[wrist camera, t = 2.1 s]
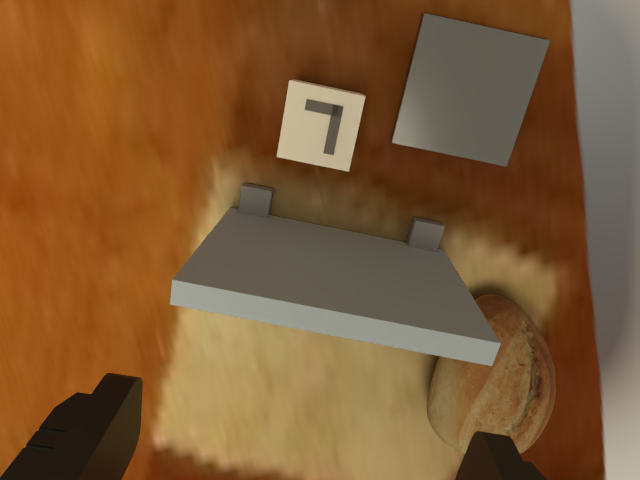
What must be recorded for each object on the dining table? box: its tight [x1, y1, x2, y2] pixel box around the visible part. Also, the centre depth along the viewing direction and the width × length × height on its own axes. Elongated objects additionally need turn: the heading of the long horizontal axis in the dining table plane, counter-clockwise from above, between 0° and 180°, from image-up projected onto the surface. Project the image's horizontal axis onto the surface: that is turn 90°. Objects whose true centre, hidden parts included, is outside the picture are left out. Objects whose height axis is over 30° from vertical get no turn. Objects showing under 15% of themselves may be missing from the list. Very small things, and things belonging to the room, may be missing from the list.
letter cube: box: [277, 80, 366, 172], centre depth 32 cm, size 5×5×5 cm
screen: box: [170, 183, 501, 366], centre depth 31 cm, size 18×6×14 cm, turn 79°
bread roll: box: [427, 294, 556, 454], centre depth 38 cm, size 10×15×8 cm, turn 175°
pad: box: [391, 13, 550, 167], centre depth 33 cm, size 9×9×1 cm
